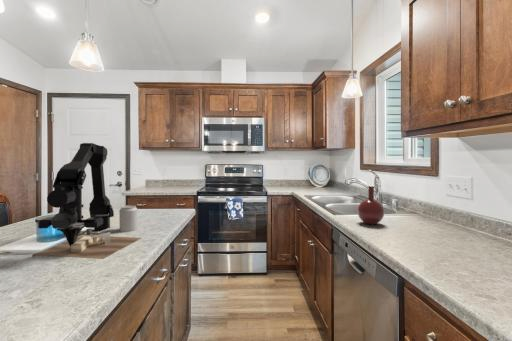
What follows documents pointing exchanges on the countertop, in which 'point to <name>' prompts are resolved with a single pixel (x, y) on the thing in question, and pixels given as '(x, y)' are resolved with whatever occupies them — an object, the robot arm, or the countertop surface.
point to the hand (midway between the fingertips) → (71, 246)
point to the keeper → (104, 235)
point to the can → (128, 218)
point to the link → (84, 242)
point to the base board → (90, 248)
